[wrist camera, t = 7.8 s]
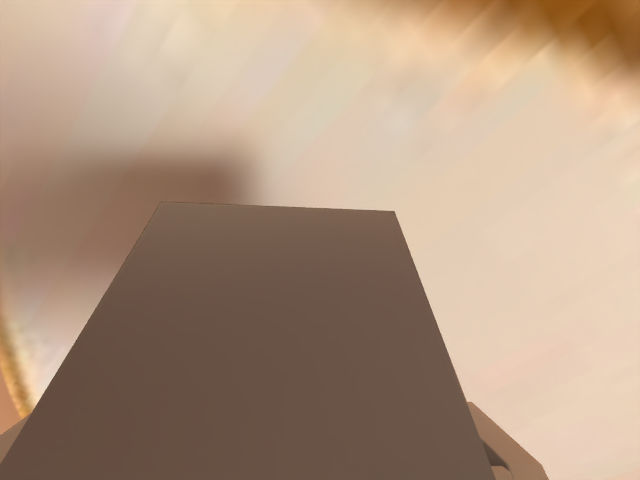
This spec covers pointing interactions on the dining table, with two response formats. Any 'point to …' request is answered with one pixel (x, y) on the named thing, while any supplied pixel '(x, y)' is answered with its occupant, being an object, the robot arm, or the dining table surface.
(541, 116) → the dining table surface
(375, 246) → the grey matte cube
